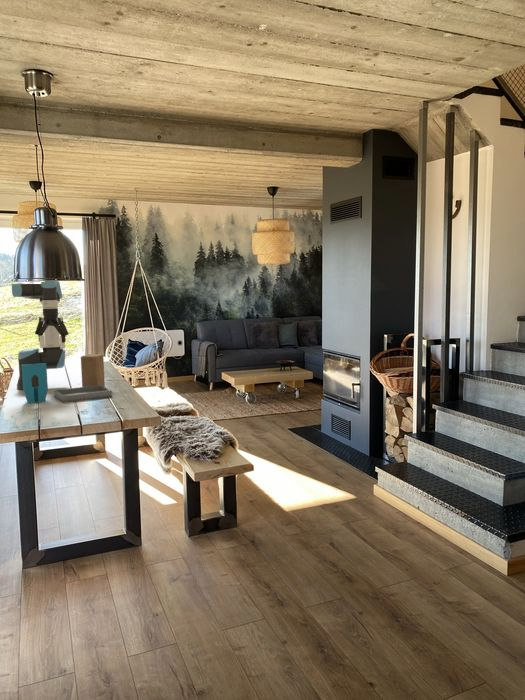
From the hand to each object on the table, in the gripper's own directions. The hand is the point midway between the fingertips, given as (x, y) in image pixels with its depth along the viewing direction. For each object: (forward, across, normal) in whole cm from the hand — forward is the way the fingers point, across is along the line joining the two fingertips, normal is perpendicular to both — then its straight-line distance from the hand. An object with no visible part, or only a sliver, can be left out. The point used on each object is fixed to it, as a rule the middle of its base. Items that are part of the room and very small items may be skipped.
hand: (52, 348), depth 297 cm
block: (+28, -7, -7) cm, 30 cm away
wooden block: (+28, -1, +33) cm, 44 cm away
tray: (+28, +9, +12) cm, 32 cm away
